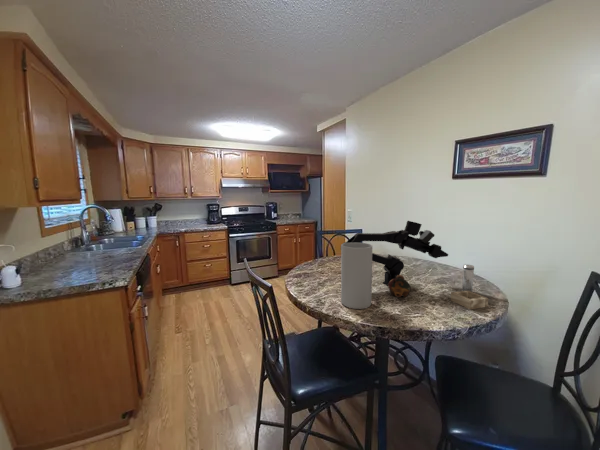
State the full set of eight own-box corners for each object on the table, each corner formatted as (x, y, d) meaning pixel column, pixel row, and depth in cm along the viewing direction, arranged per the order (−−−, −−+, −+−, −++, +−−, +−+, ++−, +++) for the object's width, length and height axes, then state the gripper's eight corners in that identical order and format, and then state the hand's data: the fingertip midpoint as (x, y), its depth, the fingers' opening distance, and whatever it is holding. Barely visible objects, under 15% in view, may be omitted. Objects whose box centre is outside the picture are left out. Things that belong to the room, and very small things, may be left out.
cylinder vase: (366, 312, 94) (367, 249, 91) (336, 305, 100) (336, 246, 98) (374, 301, 104) (375, 244, 102) (347, 295, 111) (347, 241, 108)
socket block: (469, 309, 95) (470, 300, 95) (450, 300, 104) (451, 292, 103) (487, 306, 97) (488, 298, 97) (467, 298, 106) (467, 290, 106)
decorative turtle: (408, 290, 116) (410, 274, 115) (411, 304, 102) (413, 287, 101) (387, 286, 119) (388, 271, 118) (387, 300, 105) (388, 283, 104)
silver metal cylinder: (467, 293, 111) (469, 267, 109) (459, 290, 115) (461, 264, 113) (474, 292, 112) (476, 266, 110) (466, 289, 116) (468, 264, 114)
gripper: (429, 230, 112) (460, 241, 112) (411, 226, 130) (438, 235, 131) (420, 253, 113) (451, 263, 113) (403, 245, 131) (430, 254, 132)
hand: (442, 253), depth 122 cm, fingers open, 9 cm apart
